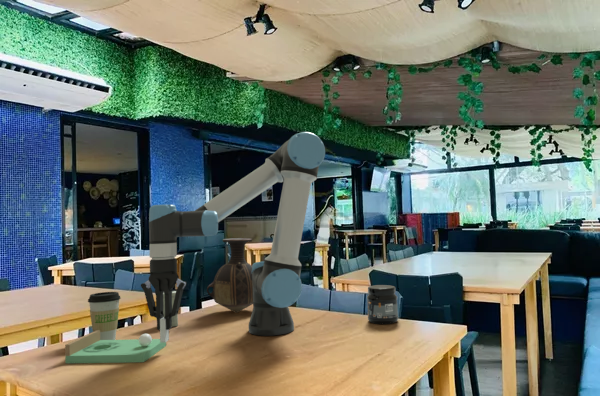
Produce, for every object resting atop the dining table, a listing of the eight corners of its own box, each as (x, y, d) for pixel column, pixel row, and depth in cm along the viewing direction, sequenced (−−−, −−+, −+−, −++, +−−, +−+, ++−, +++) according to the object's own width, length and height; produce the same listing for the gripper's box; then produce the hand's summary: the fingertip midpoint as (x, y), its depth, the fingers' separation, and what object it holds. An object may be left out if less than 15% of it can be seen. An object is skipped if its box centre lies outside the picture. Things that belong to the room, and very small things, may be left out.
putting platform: (166, 345, 136) (165, 328, 137) (143, 362, 120) (143, 343, 121) (96, 346, 138) (96, 330, 138) (65, 363, 122) (65, 344, 122)
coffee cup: (109, 345, 139) (108, 296, 140) (81, 344, 141) (80, 296, 142) (127, 336, 149) (126, 291, 150) (101, 336, 151) (100, 291, 152)
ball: (154, 344, 130) (153, 332, 130) (148, 348, 127) (148, 335, 127) (142, 344, 131) (141, 332, 131) (136, 348, 127) (136, 335, 127)
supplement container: (376, 317, 164) (374, 284, 165) (403, 319, 158) (401, 285, 159) (362, 323, 156) (361, 288, 156) (390, 326, 150) (388, 290, 150)
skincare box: (178, 323, 166) (177, 290, 166) (177, 326, 161) (176, 292, 162) (160, 325, 164) (159, 291, 165) (159, 328, 160) (158, 293, 161)
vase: (202, 317, 174) (200, 240, 176) (219, 308, 194) (217, 238, 195) (259, 317, 171) (257, 238, 172) (271, 307, 190) (268, 236, 191)
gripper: (189, 256, 133) (191, 337, 131) (146, 257, 134) (147, 338, 132) (181, 258, 125) (182, 344, 124) (135, 259, 126) (136, 345, 125)
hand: (164, 341), depth 128 cm, fingers closed
